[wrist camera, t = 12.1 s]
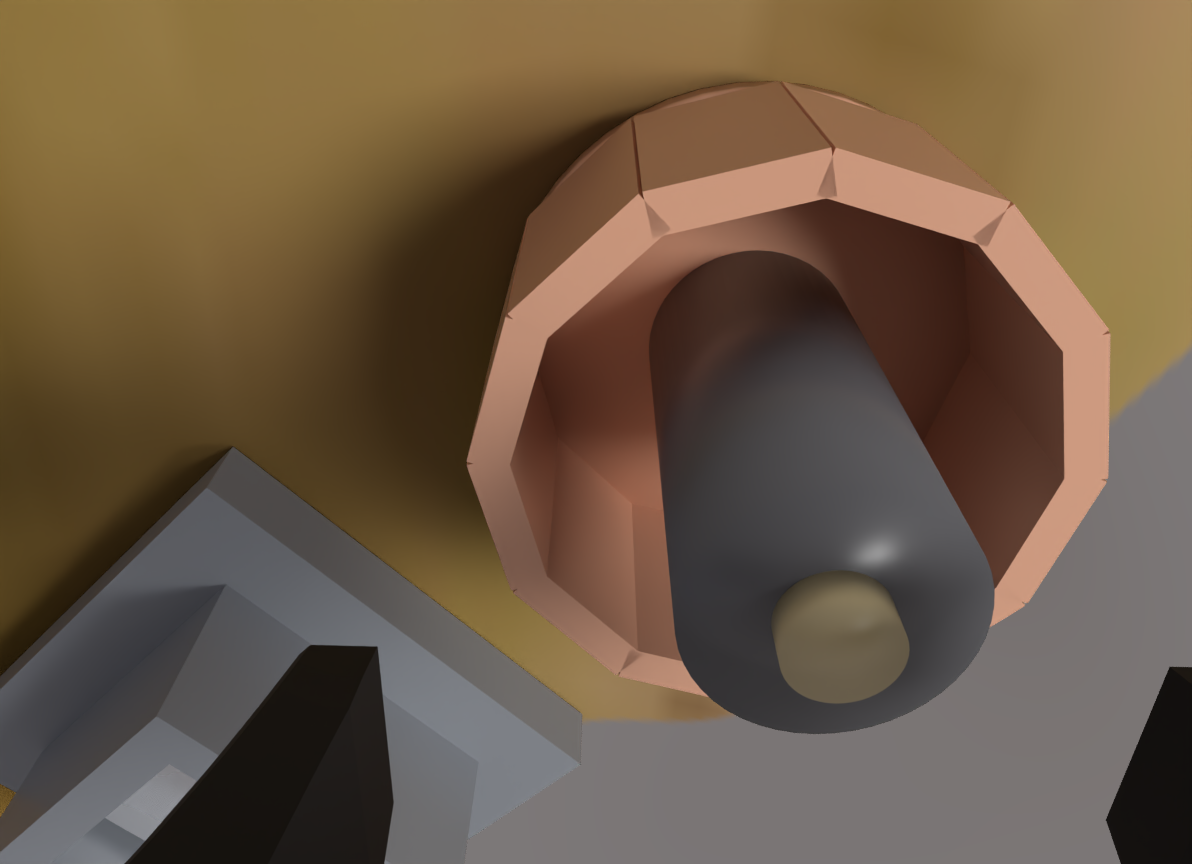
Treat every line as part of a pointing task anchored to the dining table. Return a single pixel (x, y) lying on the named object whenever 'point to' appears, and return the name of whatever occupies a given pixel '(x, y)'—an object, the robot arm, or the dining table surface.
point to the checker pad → (152, 802)
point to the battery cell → (803, 508)
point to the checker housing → (259, 679)
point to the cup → (870, 291)
